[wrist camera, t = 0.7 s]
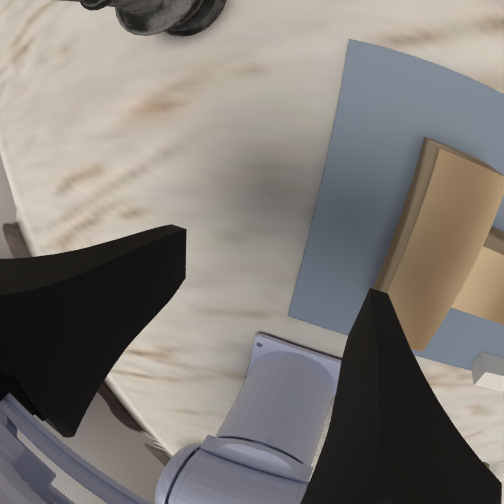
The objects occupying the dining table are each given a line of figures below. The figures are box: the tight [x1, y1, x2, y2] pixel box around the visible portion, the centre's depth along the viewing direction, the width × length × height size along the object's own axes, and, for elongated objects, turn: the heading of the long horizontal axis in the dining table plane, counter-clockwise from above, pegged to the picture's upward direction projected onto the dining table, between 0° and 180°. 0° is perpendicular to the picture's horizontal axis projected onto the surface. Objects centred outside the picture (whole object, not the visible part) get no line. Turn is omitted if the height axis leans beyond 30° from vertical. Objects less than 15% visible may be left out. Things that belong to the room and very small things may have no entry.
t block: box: [372, 136, 504, 352], centre depth 13 cm, size 10×10×4 cm
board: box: [288, 39, 504, 371], centre depth 14 cm, size 18×24×1 cm
